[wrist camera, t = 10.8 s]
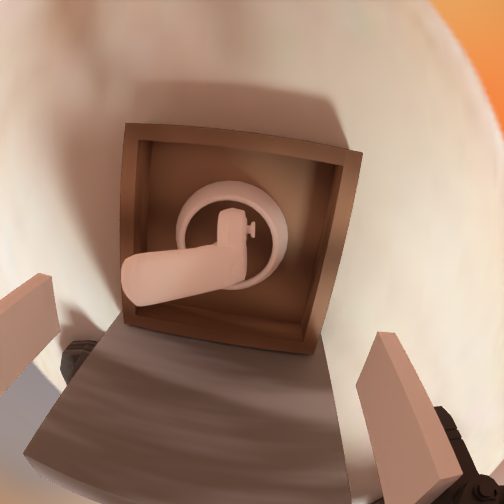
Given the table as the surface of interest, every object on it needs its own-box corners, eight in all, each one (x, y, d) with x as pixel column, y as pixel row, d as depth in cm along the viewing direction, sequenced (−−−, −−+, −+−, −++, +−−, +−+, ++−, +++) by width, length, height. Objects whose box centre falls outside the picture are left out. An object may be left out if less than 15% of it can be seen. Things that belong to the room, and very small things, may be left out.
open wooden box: (313, 357, 25) (335, 536, 10) (129, 327, 26) (39, 476, 11) (363, 153, 20) (546, 208, 5) (131, 123, 20) (-71, 136, 5)
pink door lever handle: (74, 180, 15) (134, 162, 11) (220, 185, 25) (298, 181, 20) (81, 310, 16) (143, 351, 12) (220, 279, 26) (295, 293, 21)
